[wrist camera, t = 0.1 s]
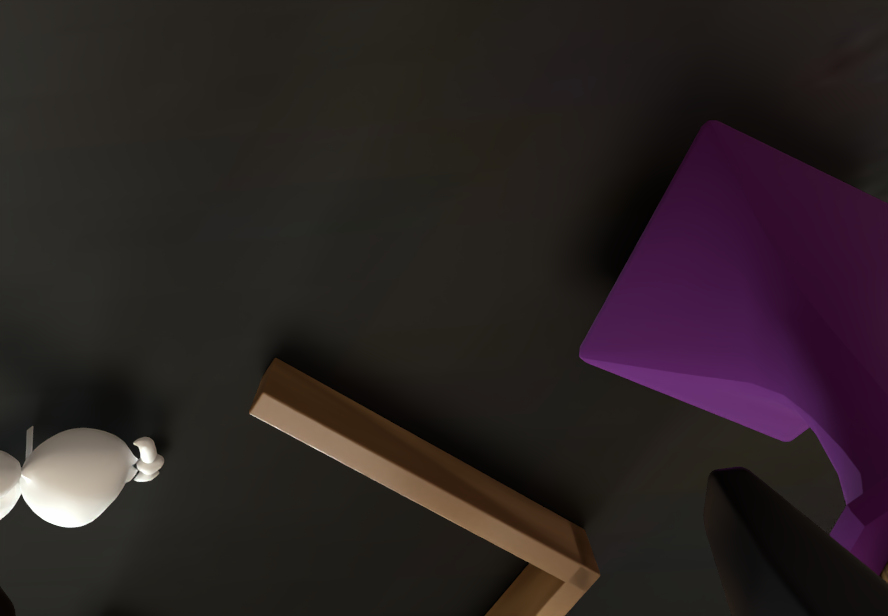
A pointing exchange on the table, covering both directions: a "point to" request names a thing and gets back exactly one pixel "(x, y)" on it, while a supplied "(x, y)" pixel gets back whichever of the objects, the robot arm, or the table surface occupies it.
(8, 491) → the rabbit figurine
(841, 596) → the robot arm
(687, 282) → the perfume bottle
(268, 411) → the frame
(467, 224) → the table surface
